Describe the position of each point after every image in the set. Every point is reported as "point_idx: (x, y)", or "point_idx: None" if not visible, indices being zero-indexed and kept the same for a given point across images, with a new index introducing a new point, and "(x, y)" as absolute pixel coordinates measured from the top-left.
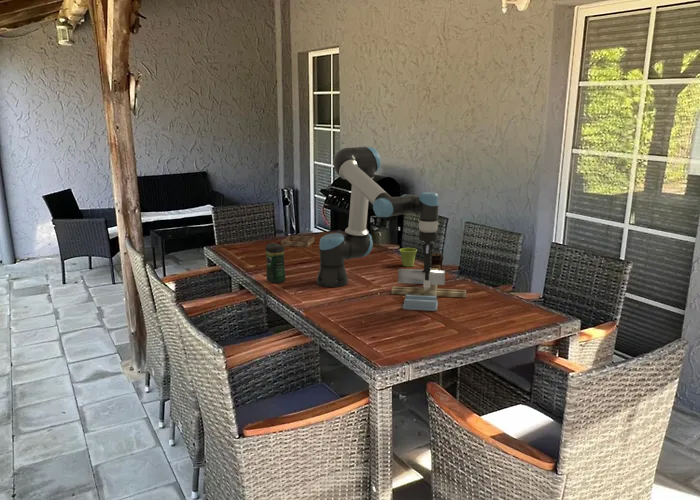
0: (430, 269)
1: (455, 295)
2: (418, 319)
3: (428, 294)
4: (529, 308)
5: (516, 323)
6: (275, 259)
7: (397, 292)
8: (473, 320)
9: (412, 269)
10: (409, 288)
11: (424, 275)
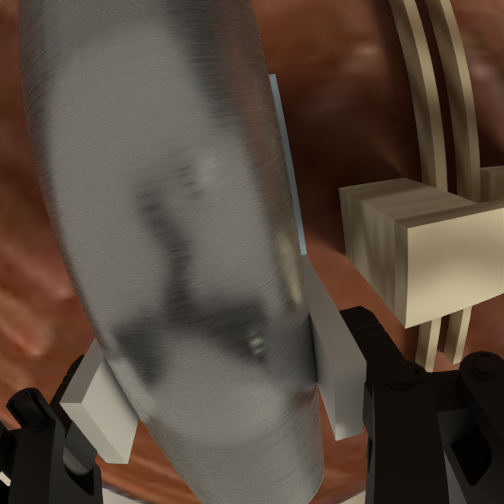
0: (331, 420)
1: (423, 330)
2: (27, 249)
3: (355, 225)
4: (324, 497)
5: (187, 495)
6: None
7: (397, 12)
8: (142, 431)
9: (109, 163)
10: (458, 77)
11: (81, 379)
